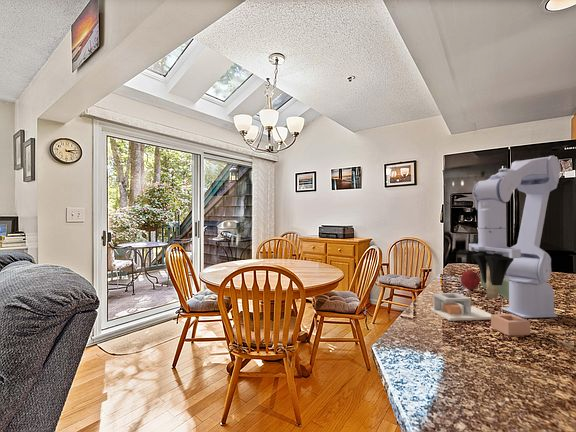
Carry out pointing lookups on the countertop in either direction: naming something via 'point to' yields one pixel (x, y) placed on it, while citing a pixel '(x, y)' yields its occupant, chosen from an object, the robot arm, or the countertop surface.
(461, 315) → the square socket plate
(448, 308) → the button
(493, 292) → the stylus
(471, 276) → the onion
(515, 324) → the stylus holder
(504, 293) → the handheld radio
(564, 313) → the countertop surface
